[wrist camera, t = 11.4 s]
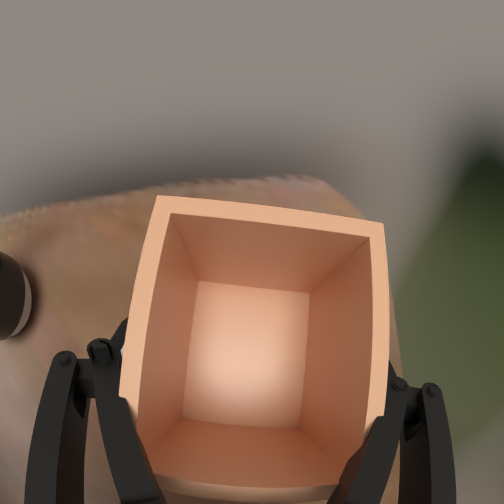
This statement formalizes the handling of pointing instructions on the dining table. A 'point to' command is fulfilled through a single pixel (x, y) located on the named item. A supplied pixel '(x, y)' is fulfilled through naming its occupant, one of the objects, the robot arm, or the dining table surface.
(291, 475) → the terracotta crate
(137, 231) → the dining table surface
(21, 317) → the pump dispenser
